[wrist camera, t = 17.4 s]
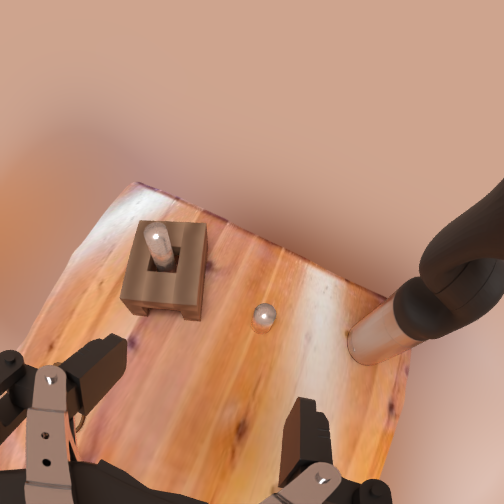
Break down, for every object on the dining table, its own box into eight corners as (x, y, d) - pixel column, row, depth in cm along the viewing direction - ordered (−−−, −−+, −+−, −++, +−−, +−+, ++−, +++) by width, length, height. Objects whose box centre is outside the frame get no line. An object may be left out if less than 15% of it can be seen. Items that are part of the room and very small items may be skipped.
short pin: (270, 315, 52) (276, 303, 46) (271, 334, 50) (276, 324, 45) (251, 314, 51) (254, 302, 46) (251, 333, 49) (254, 323, 44)
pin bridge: (207, 247, 58) (206, 223, 51) (200, 321, 50) (196, 305, 43) (148, 243, 57) (139, 220, 51) (133, 314, 49) (119, 298, 42)
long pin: (181, 272, 55) (168, 222, 41) (179, 289, 53) (164, 242, 39) (164, 271, 54) (146, 221, 41) (161, 287, 52) (141, 241, 39)
